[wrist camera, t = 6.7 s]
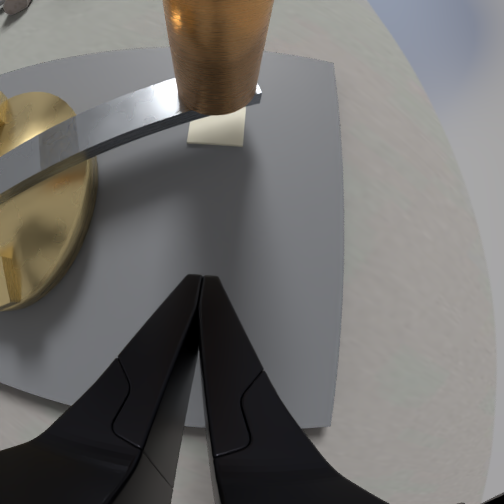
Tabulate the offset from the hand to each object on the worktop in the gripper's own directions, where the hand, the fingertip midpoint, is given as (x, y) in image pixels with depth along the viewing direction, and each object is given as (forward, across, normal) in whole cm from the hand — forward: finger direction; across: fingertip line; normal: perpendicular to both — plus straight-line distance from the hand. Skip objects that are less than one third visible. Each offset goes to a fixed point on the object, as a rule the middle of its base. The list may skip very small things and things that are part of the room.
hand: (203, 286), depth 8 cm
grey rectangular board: (+9, +10, +3) cm, 14 cm away
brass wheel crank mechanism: (+9, +10, +1) cm, 13 cm away
